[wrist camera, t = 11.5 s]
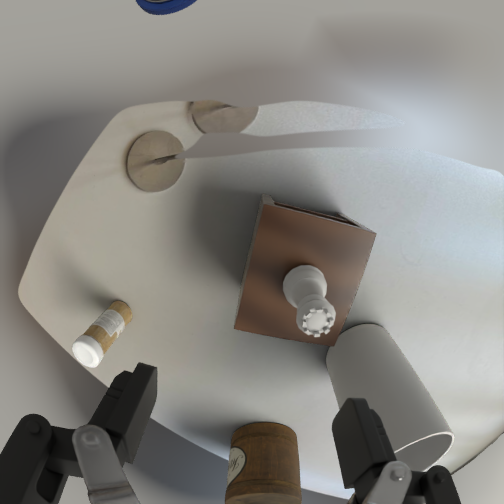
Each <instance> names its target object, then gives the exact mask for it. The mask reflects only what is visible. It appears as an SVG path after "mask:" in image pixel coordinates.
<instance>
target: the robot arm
mask: <svg viewBox="0 0 504 504" xmlns="http://www.w3.org/2000/svg"><path fill="white" fill-rule="evenodd" d="M145 1H147V2H149V3H154V4H161V3H167V2H170V1H173V0H145ZM156 397H157V367H154V366H150V365H147V364H144V363H140V362H139V363H138V364H137V366H136V368H135V370H134V372H133V373H131V372H128V371H123V372H122V373H120V374H119V375H117V376H116V377H115V378H114V380H113V382H112V383H111V385H110V388H108V390H107V392H106V395H105V396H104V397H103V399H102V401H101V402H100V404H99V406H98V408H97V409H96V411H95V413H94V415H93V416H92V418H91V420H90V421H89V423H88V424H87V425H83V426H81V427H79V428H77V429H66V428H61V427H55V426H51V425H50V423H49V422H48V421H47V419H45V418H44V417H43V416H41V415H38V414H29V415H26V416H24V417H23V418H22V419H21V420H20V422H19V423H18V425H17V426H16V428H15V430H14V431H13V433H12V435H11V436H10V438H9V440H8V442H7V443H6V445H5V447H4V449H3V451H2V452H1V454H0V504H58V503H59V500H60V498H61V495H62V492H63V489H64V487H65V484H66V481H67V478H68V476H69V475H70V476H75V477H81V478H84V481H85V484H86V486H87V489H88V497H89V500H90V503H91V504H140V502H139V500H138V498H137V496H136V494H135V493H134V491H133V489H132V487H131V485H130V484H129V482H128V480H127V477H126V475H125V473H124V471H123V469H122V468H123V465H124V463H125V462H128V463H131V464H133V461H134V458H135V456H136V453H137V450H138V447H139V444H140V441H141V439H142V436H143V434H144V431H145V428H146V426H147V423H148V420H149V418H150V415H151V413H152V410H153V407H154V405H155V402H156ZM383 426H384V425H383V423H382V420H381V418H380V416H379V415H378V414H377V413H376V412H375V410H374V409H370V408H369V405H368V403H367V401H366V399H365V398H347V399H346V400H345V402H344V404H343V405H342V407H341V409H340V410H339V412H338V413H337V415H336V416H335V418H334V420H333V423H332V432H333V437H334V441H335V446H336V450H337V455H338V459H339V464H340V468H341V473H342V478H343V483H344V488H345V489H349V488H354V489H355V493H354V494H353V495H352V496H351V498H350V499H349V501H348V503H347V504H425V503H426V504H461V502H460V499H459V496H458V493H457V490H456V487H455V485H454V482H453V480H452V477H451V474H450V472H449V471H448V470H447V469H446V468H445V467H443V466H440V465H436V466H433V467H431V468H430V469H429V470H428V471H427V472H421V471H411V470H410V468H409V467H408V466H407V465H406V464H405V463H403V462H400V461H397V459H396V456H395V454H394V451H393V448H392V446H391V443H390V441H389V438H388V435H386V430H385V428H384V427H383Z"/></svg>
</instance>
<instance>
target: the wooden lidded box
mask: <svg viewBox="0 0 504 504" xmlns="http://www.w3.org/2000/svg"><path fill="white" fill-rule="evenodd" d="M375 237H376V233H375V232H373V231H371V230H370V229H368V228H366V227H365V226H363V225H361V224H359V223H358V222H356V221H354V220H352V219H351V218H349V217H347V216H345V215H343V214H340V213H336V217H333V216H329V215H326V214H322V213H318V212H314V211H311V210H307V209H303V208H299V207H295V206H291V205H287V204H283V203H279V202H275V201H273V200H272V197H271V196H270V195H266V194H262V197H261V202H260V206H259V210H258V214H257V219H256V223H255V227H254V231H253V235H252V240H251V244H250V248H249V252H248V257H247V261H246V265H245V270H244V274H243V278H242V282H241V287H240V293H239V300H238V306H237V312H236V319H235V325H234V329H237V330H241V331H246V332H251V333H256V334H261V335H266V336H272V337H277V338H283V339H288V340H294V341H300V342H306V343H313V344H319V345H326V346H333V347H334V346H335V344H336V341H337V339H338V337H339V334H340V332H341V330H342V327H343V325H344V323H345V320H346V318H347V315H348V313H349V310H350V308H351V305H352V303H353V300H354V298H355V295H356V292H357V290H358V287H359V284H360V281H361V279H362V276H363V273H364V270H365V267H366V264H367V261H368V258H369V255H370V252H371V249H372V246H373V243H374V240H375ZM301 265H310V266H313V267H315V268H318V269H319V270H320V271H321V272H322V273H323V275H324V278H325V280H326V283H327V291H326V295H325V297H324V298H325V299H326V300H327V301H328V302H329V303H330V304H331V305H332V306H333V307H334V310H335V313H336V315H335V321H334V324H333V325H332V326H331V327H330V331H329V332H328V333H327V334H325V333H324V332H322V333H320V337H314V335H313V334H310V335H307V334H306V333H304V332H303V331H302V330H301V329H299V327H298V325H297V322H296V318H297V308H296V307H294V306H293V305H292V304H290V303H289V302H288V301H287V299H286V296H285V294H284V292H283V282H284V279H285V277H286V275H287V274H288V273H289V272H290V271H291V270H292V269H294V268H296V267H299V266H301Z"/></svg>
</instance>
